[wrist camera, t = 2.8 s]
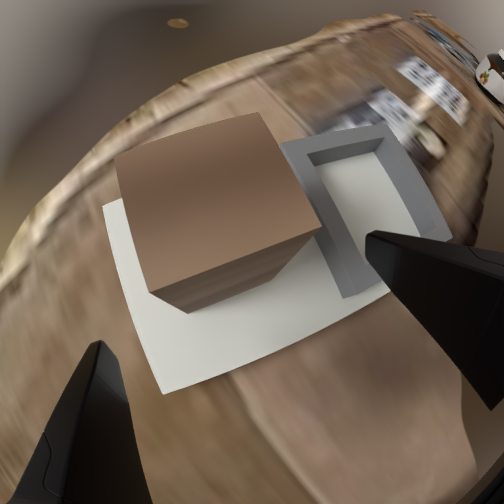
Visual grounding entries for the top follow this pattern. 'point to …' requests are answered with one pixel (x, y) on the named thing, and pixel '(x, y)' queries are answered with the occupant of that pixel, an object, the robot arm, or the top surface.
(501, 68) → the spread jar
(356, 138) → the mounting board
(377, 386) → the top surface
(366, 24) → the top surface
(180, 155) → the cabinet block
